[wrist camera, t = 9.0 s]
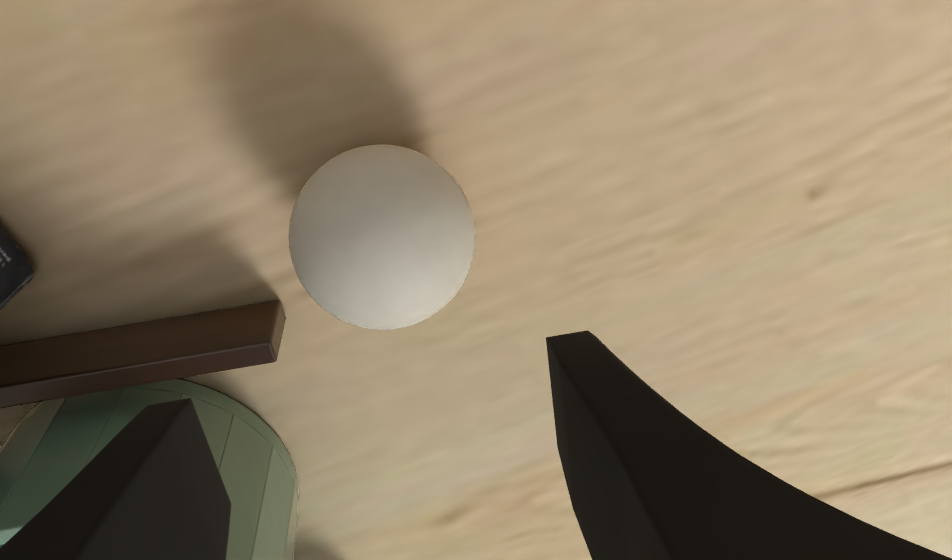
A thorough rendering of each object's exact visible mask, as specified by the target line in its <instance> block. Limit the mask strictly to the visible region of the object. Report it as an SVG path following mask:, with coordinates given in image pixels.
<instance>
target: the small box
mask: <svg viewBox="0 0 952 560" xmlns="http://www.w3.org/2000/svg"><path fill="white" fill-rule="evenodd" d="M32 275H33V269H32V266H31V265H30V264H29V263H28V262H27V260H26V257H25V254H24V253H23V252H22V251H21V250H20V249H19V248H18V247H17V245H16V244H15V242H14V241H12V240H11V239H10V238H9V237H8V235H7V234H6V233H5V232H4V230H3V229H2V228H1V226H0V310H1V309H3V308H4V307H5V306H6V304H7V303H8V302H9V301H10V300H11V299H12V298H13V297H14V296H15V295H16V294H17V293H18V292H19V291H20V290H21V289H22V288H23V287H24V286H25V285H26V284H27V283H29V282H30V281H31V279H32Z"/></svg>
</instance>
